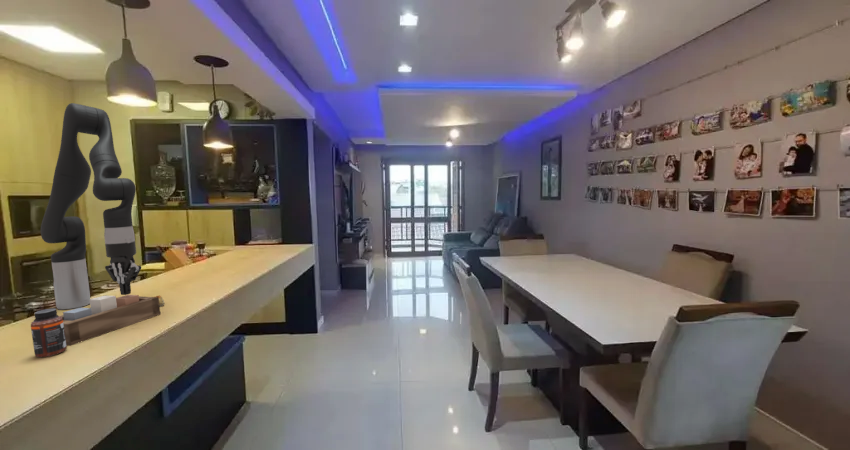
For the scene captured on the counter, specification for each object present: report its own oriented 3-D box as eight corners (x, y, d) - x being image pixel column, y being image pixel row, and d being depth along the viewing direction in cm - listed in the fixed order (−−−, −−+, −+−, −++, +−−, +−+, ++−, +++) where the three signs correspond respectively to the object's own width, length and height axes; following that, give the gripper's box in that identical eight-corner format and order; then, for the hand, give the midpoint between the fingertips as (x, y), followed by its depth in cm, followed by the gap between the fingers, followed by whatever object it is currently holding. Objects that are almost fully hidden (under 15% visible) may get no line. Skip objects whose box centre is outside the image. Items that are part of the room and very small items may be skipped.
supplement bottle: (73, 348, 102) (68, 306, 100) (51, 358, 96) (45, 314, 95) (51, 348, 102) (46, 307, 101) (27, 358, 96) (21, 314, 95)
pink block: (116, 313, 123) (114, 298, 122) (130, 309, 127) (128, 294, 127) (126, 314, 122) (124, 299, 121) (140, 310, 126) (138, 295, 125)
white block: (91, 315, 116) (89, 299, 115) (107, 310, 120) (105, 295, 120) (102, 316, 115) (100, 299, 114) (117, 311, 119) (115, 295, 118)
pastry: (135, 313, 131) (134, 302, 131) (128, 310, 135) (127, 300, 135) (166, 306, 139) (165, 295, 139) (158, 303, 143) (157, 293, 142)
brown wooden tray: (40, 341, 107) (38, 321, 106) (133, 312, 132) (132, 295, 131) (71, 345, 104) (68, 324, 103) (160, 314, 129) (158, 297, 128)
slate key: (65, 329, 109) (62, 312, 109) (82, 323, 114) (80, 307, 113) (76, 330, 108) (73, 313, 108) (93, 324, 112) (91, 308, 112)
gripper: (92, 242, 120) (98, 296, 122) (123, 243, 117) (129, 298, 118) (117, 239, 127) (122, 290, 129) (147, 239, 124) (152, 292, 125)
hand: (125, 294), depth 124 cm, fingers closed
